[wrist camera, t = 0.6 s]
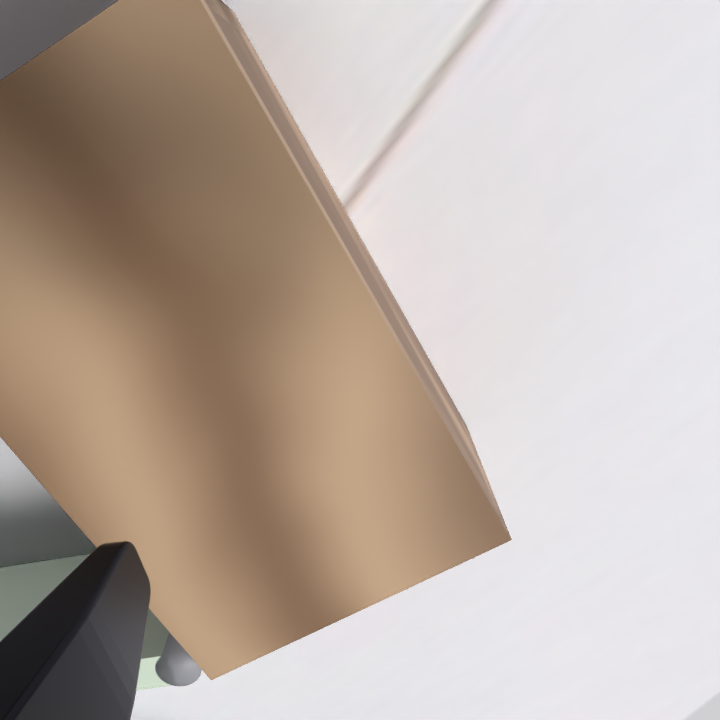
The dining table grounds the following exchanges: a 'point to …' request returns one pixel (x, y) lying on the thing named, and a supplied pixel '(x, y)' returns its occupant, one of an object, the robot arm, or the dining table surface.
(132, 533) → the cabinet
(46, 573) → the door
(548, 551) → the dining table surface
